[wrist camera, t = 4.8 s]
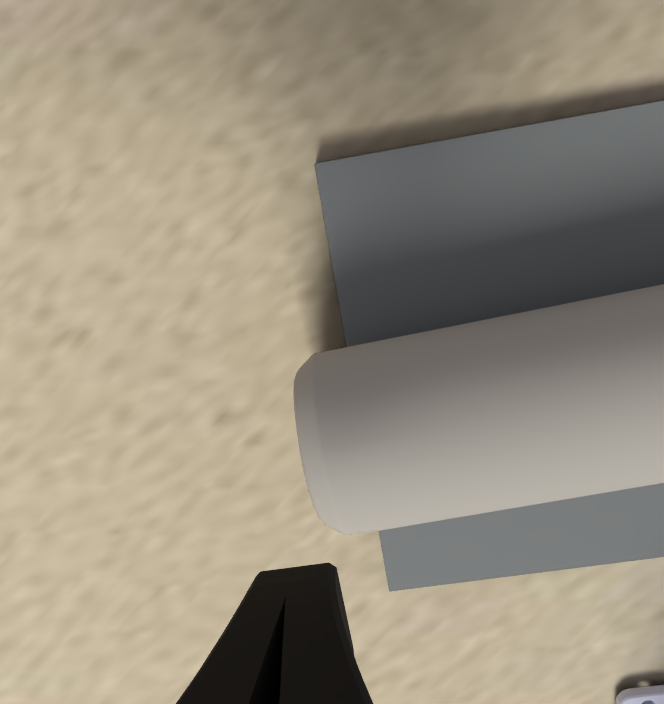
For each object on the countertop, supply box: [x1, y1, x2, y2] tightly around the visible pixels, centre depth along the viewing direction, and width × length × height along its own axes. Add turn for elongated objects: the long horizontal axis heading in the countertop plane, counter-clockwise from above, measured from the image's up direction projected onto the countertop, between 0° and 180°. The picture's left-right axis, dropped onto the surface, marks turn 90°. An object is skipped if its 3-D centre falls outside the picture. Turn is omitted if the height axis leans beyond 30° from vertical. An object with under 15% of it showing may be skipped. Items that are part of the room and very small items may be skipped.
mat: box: [314, 100, 664, 591], centre depth 18 cm, size 12×14×1 cm
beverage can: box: [294, 284, 664, 536], centre depth 16 cm, size 5×5×12 cm
